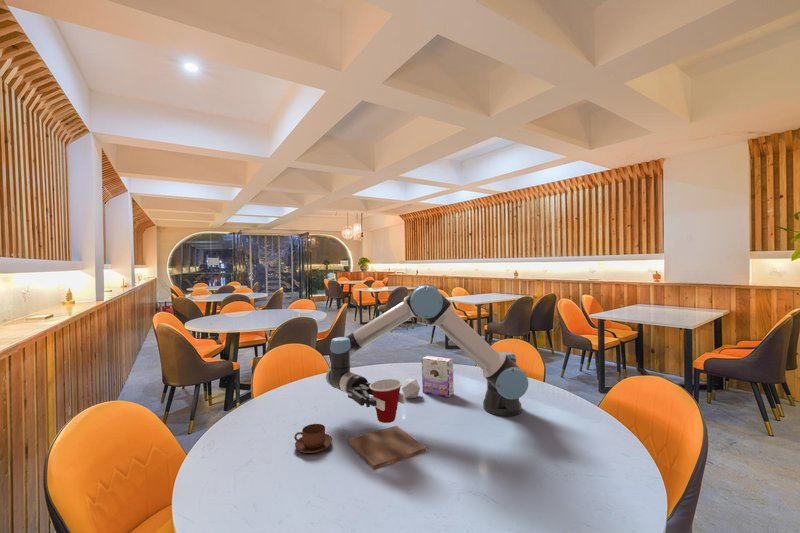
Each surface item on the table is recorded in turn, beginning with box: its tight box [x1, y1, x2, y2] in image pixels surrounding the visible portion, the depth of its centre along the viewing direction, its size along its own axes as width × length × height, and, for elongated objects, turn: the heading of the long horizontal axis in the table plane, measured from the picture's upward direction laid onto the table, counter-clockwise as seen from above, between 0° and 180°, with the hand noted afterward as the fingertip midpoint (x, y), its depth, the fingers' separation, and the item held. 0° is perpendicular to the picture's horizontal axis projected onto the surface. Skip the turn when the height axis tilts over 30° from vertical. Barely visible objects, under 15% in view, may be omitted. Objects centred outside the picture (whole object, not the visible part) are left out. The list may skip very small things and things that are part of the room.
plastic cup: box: [369, 378, 403, 424], centre depth 116 cm, size 11×11×12 cm
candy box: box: [421, 355, 455, 398], centre depth 164 cm, size 14×6×16 cm, turn 58°
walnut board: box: [347, 425, 427, 470], centre depth 115 cm, size 19×19×1 cm
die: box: [401, 378, 421, 399], centre depth 160 cm, size 8×9×10 cm
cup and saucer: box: [294, 423, 333, 454], centre depth 116 cm, size 12×12×6 cm
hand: (394, 402), depth 112 cm, fingers closed on plastic cup, 8 cm apart
